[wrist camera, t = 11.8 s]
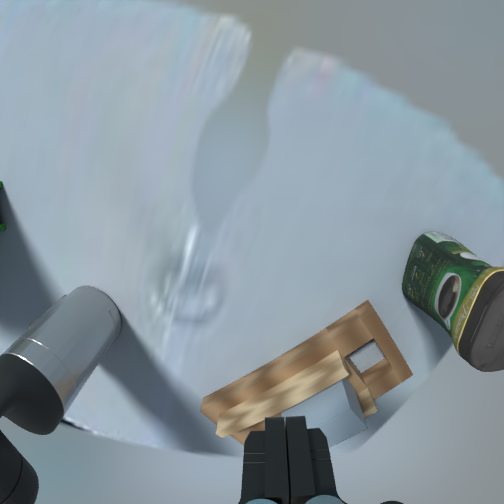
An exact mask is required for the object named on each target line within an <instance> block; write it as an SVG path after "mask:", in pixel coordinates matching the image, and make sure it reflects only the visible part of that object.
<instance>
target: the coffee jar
mask: <svg viewBox="0 0 504 504" xmlns="http://www.w3.org/2000/svg"><path fill="white" fill-rule="evenodd" d="M402 288H403V292H404V295H405V296H406V297H407V298H408V299H409V300H410V301H411V302H412V303H413V304H415V305H416V306H417V307H419V308H420V309H421V310H423V311H424V312H425V313H427V314H428V315H429V316H431V317H432V318H433V319H434V320H435V321H437V322H438V323H439V324H440V325H441V326H442V327H443V328H444V329H445V330H446V331H447V332H448V333H449V335H450V336H451V338H452V341H453V343H454V346H455V349H456V351H457V352H458V354H459V355H460V356H461V357H462V358H463V359H464V360H466V361H467V362H468V363H469V364H470V365H471V366H473V367H474V368H476V369H477V370H480V371H483V372H493V371H499V370H503V369H504V268H503V267H492V266H491V265H489V264H487V263H486V262H484V261H483V260H481V259H480V258H479V257H477V256H476V255H475V254H474V253H472V252H471V251H470V250H468V249H467V248H466V247H465V246H463V245H462V244H461V243H459V242H458V241H456V240H455V239H453V238H451V237H449V236H447V235H445V234H442V233H437V232H427V233H424V234H422V235H421V236H420V237H419V238H418V239H417V240H416V241H415V243H414V245H413V247H412V250H411V252H410V255H409V258H408V261H407V265H406V269H405V272H404V277H403V283H402Z"/></svg>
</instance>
